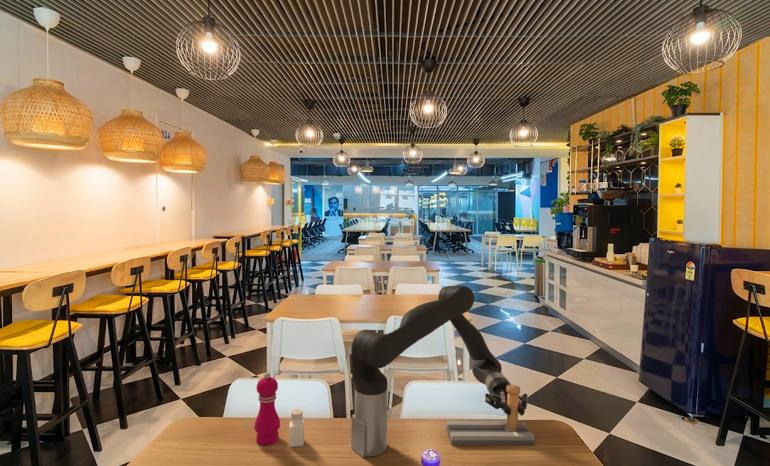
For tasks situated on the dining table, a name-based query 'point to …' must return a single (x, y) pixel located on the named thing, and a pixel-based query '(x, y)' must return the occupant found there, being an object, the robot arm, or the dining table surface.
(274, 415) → the pepper mill
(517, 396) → the wooden peg
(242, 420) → the dining table surface
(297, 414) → the pepper shaker
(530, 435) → the grey stand base
